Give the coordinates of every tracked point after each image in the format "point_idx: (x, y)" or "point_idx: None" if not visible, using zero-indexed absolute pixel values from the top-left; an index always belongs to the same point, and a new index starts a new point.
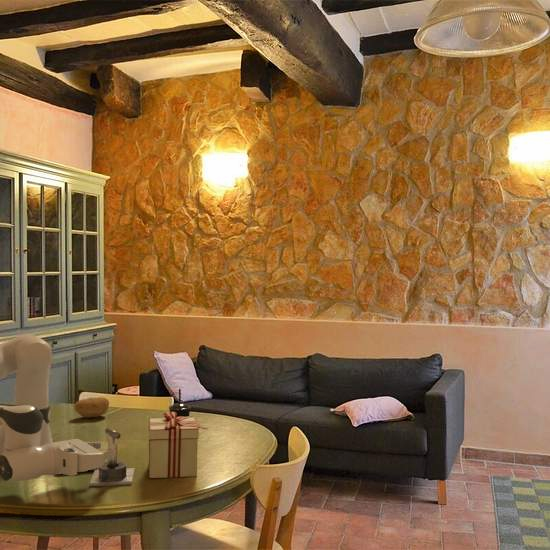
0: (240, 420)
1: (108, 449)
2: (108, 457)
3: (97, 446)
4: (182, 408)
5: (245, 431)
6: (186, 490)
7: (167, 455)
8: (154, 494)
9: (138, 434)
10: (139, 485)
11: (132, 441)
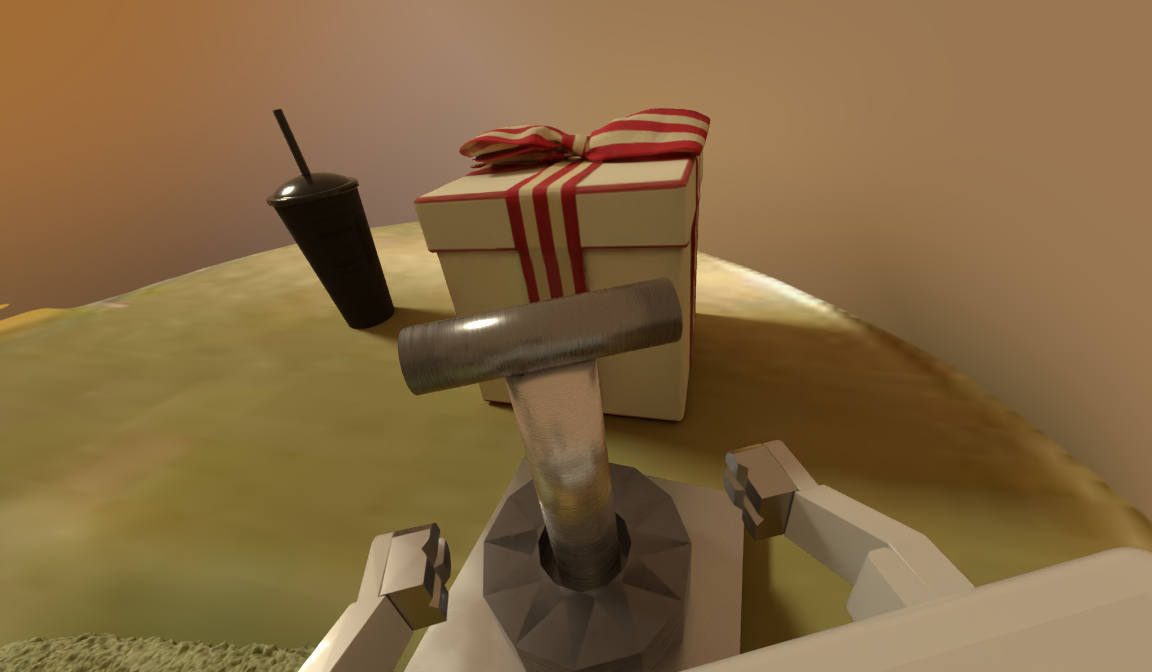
0: None
1: (756, 477)
2: (577, 535)
3: (438, 574)
4: (344, 182)
5: (411, 235)
6: (850, 345)
7: (689, 289)
8: (917, 438)
9: (125, 388)
10: None
11: (162, 414)
